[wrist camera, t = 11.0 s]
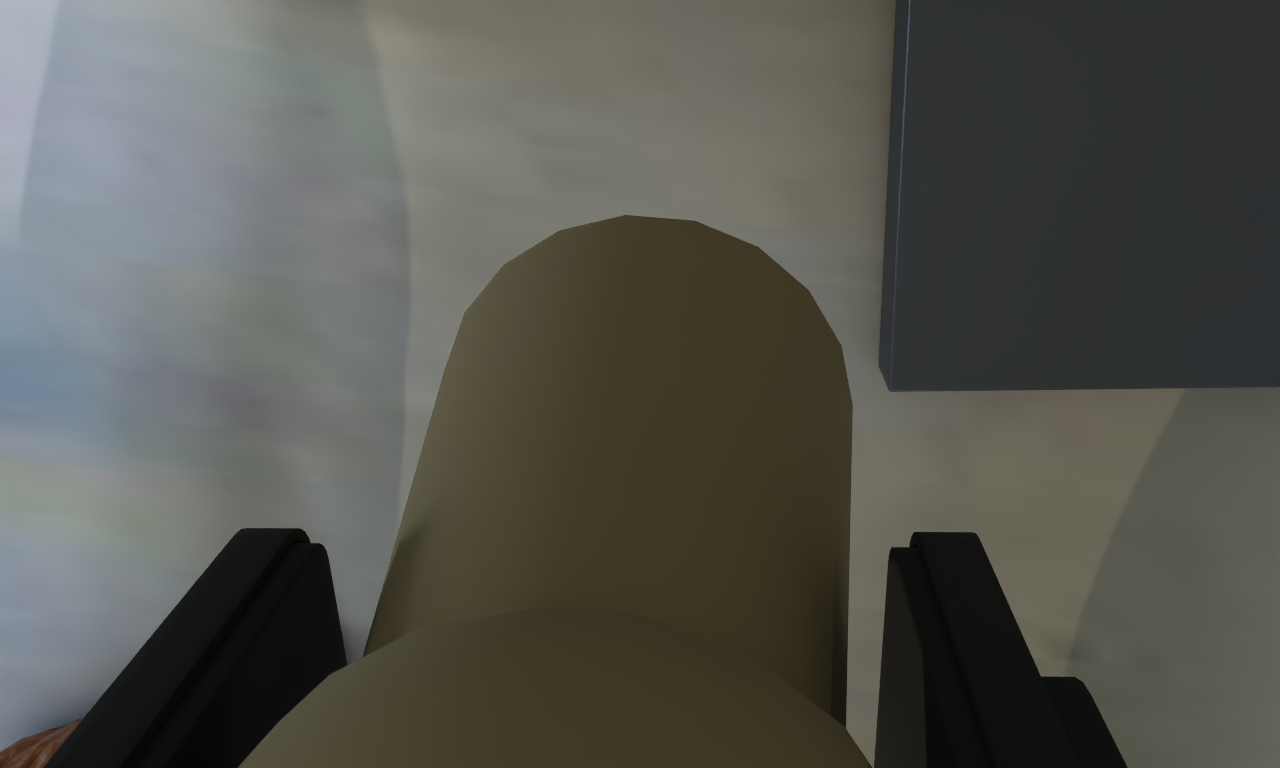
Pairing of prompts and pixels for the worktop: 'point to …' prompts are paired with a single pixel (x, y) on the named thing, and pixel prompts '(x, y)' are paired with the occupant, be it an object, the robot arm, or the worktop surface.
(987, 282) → the scale
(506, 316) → the cork
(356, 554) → the worktop surface
